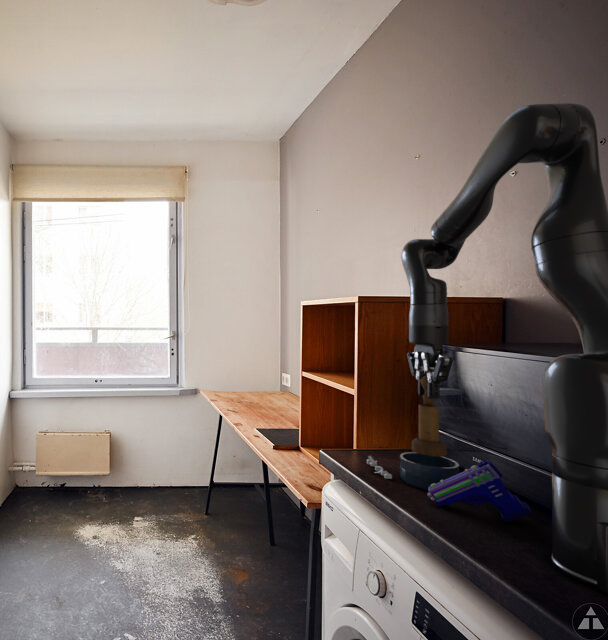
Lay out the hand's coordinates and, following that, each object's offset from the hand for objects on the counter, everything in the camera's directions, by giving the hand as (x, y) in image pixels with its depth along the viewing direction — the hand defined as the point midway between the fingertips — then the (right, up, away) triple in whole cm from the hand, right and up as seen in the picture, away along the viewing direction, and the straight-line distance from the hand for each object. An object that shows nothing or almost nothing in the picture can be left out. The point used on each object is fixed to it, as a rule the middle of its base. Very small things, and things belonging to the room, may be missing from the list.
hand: (428, 396), depth 97 cm
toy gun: (-2, -21, -15) cm, 25 cm away
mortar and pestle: (0, -13, 0) cm, 13 cm away
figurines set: (-7, -21, +8) cm, 23 cm away
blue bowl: (0, -20, 0) cm, 20 cm away
